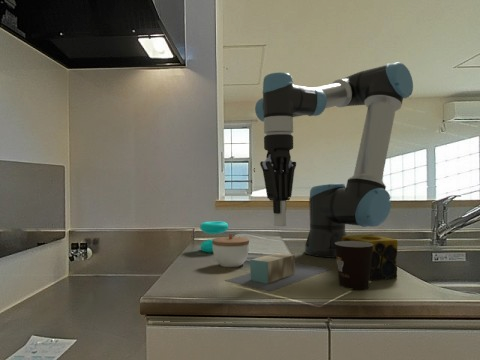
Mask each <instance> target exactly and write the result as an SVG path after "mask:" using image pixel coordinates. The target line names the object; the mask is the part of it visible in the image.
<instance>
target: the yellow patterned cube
mask: <svg viewBox="0 0 480 360" xmlns="http://www.w3.org/2000/svg"><path fill="white" fill-rule="evenodd" d="M342 241H360V242H368V243H371V244H373V252H372V260H371V269H370V278H369V281H370V282H375V281H376V282H377V281H384V280H392V279H397V277H398V265H397V261H398V258H397V256H398V239H394V238H391V237H386V236H382V235H376V234H357V235H347V236H342Z"/></svg>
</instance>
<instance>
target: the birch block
mask: <svg viewBox="0 0 480 360" xmlns="http://www.w3.org/2000/svg"><path fill="white" fill-rule="evenodd" d="M295 261H296V254H292V253H285V252H277V253H275V252H274V253H273V254H268V255H263V256H260V257H256V258H252V259H250V264H249V265H250V272H249V273H251V280H253V281H257V282H262V283H270V282H273V281H276V280H279V279H282V278H285V277H288V276H291V275H294V274H295V263H296V262H295Z"/></svg>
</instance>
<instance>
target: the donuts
mask: <svg viewBox="0 0 480 360" xmlns="http://www.w3.org/2000/svg"><path fill="white" fill-rule="evenodd" d="M199 227H200V230H201V231H202V232H203V233H205V234H210V235H211V234H216V235H217V234H222V233H225V232H226V231H227V230H229V224H228V223H227V222H226V221H220V220H219V221H217V220H216V221H214V220H212V221H204V222H201V224H200V226H199ZM212 240H213V239H207V240H204V241H202V242H201V244H200V246H199V249H200V250H201V251H202V252H204V253H213V243H212Z"/></svg>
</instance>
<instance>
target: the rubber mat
mask: <svg viewBox="0 0 480 360" xmlns="http://www.w3.org/2000/svg"><path fill="white" fill-rule="evenodd" d="M331 270H332V268H331V267H330V268H329V267H321V266H317V265H311V264H305V263H299V262H295V274H294V275H291V276H288V277H285V278H282V279H279V280H276V281H273V282H270V283H262V282H257V281H253V280H251V272H249V273H246V274H242V275H239V276H235V277H232V278H229V279H225V280H224V281H225V282H229V283H233V284H238V285H243V286H245V287H250V288H254V289H259V290H263V291H267V292H273V291H275V290H278V289H280V288H283V287H284V288H285V287H286V286H288V285H289V286H290V285H292V284H294V283H297V282H300V281H303V280H306V279H309V278H311V277H313V276H316V275H319V274H322V273H325V272H327V271H331Z"/></svg>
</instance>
